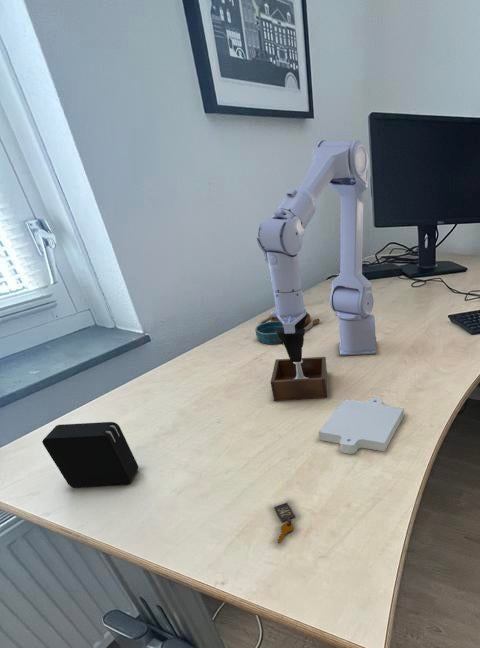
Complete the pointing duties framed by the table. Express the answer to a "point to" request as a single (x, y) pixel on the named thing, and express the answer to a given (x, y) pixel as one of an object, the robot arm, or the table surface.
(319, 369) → the box
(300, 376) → the chess piece
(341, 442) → the mounting plate
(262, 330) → the bowl
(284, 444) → the table surface
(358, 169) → the robot arm
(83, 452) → the electronic device
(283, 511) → the key tag
